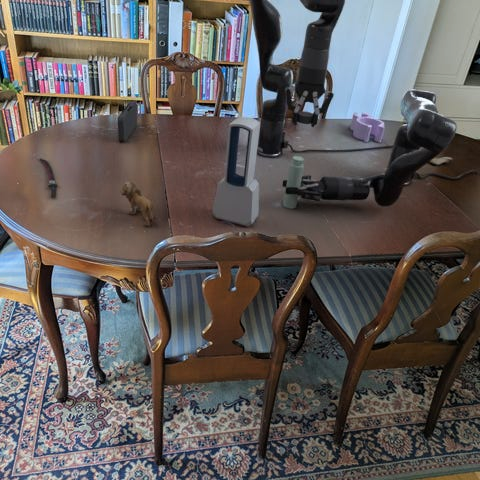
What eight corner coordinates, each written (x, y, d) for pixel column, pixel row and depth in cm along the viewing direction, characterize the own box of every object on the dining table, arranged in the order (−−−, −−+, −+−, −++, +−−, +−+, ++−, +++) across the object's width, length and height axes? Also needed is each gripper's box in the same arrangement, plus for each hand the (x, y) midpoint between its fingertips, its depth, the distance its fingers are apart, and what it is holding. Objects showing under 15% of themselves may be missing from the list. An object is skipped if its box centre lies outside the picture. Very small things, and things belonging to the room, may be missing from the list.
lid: (295, 122, 134) (296, 115, 133) (296, 118, 138) (297, 110, 137) (312, 125, 133) (313, 117, 132) (312, 120, 137) (314, 112, 136)
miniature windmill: (295, 130, 212) (306, 61, 195) (276, 127, 213) (286, 58, 196) (297, 124, 219) (308, 57, 203) (279, 121, 220) (288, 54, 204)
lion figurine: (118, 210, 138) (116, 182, 133) (132, 204, 141) (131, 177, 137) (151, 229, 130) (150, 201, 126) (165, 223, 134) (165, 195, 129)
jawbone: (444, 169, 189) (445, 165, 188) (396, 154, 200) (397, 150, 198) (451, 162, 195) (453, 157, 194) (405, 147, 205) (406, 143, 204)
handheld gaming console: (131, 122, 200) (130, 99, 195) (137, 123, 200) (136, 100, 195) (117, 142, 181) (116, 117, 175) (124, 142, 181) (123, 117, 176)
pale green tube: (289, 201, 153) (298, 154, 144) (298, 206, 150) (308, 159, 142) (280, 203, 151) (288, 156, 142) (289, 209, 148) (298, 162, 139)
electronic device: (258, 217, 142) (270, 121, 125) (250, 229, 135) (262, 130, 119) (220, 208, 144) (227, 113, 128) (210, 219, 138) (217, 120, 122)
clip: (343, 126, 223) (346, 112, 219) (367, 127, 225) (371, 113, 221) (360, 142, 206) (364, 127, 202) (386, 142, 209) (390, 127, 205)
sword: (61, 197, 141) (61, 193, 140) (50, 198, 139) (50, 194, 139) (49, 160, 164) (48, 156, 163) (39, 160, 163) (39, 157, 162)
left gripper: (288, 65, 123) (280, 127, 133) (342, 70, 124) (329, 132, 133) (286, 59, 130) (278, 119, 139) (337, 63, 130) (326, 123, 140)
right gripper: (332, 168, 153) (281, 166, 151) (345, 188, 141) (290, 186, 139) (327, 188, 157) (278, 187, 155) (340, 209, 145) (287, 208, 143)
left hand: (303, 125), depth 136 cm, fingers closed on lid, 4 cm apart
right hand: (284, 187), depth 147 cm, fingers closed on pale green tube, 4 cm apart
